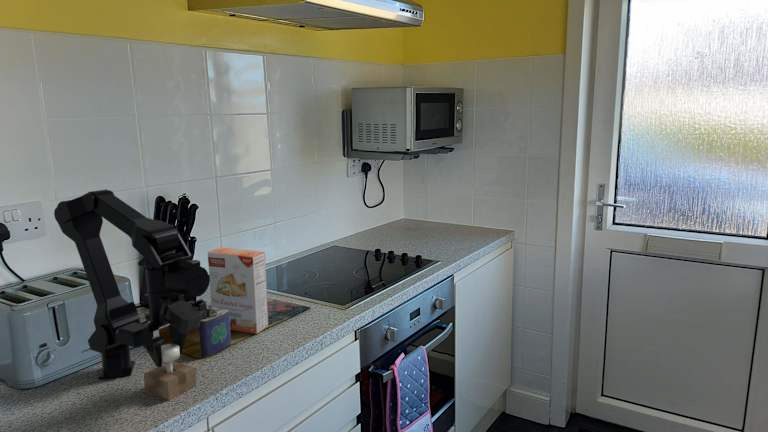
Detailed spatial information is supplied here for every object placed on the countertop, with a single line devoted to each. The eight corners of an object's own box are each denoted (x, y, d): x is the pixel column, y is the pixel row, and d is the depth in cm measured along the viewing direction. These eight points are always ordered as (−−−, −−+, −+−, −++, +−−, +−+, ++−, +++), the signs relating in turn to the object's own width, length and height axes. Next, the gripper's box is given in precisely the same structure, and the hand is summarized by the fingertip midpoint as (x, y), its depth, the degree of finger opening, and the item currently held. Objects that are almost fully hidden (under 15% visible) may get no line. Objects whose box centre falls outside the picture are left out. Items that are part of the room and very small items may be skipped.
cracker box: (211, 328, 147) (206, 251, 143) (225, 320, 152) (221, 246, 149) (256, 335, 142) (252, 256, 138) (269, 327, 147) (265, 250, 144)
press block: (145, 392, 113) (143, 374, 113) (173, 378, 119) (171, 360, 119) (169, 400, 110) (167, 381, 109) (196, 385, 116) (195, 367, 115)
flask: (225, 342, 138) (223, 301, 136) (235, 344, 137) (232, 302, 135) (197, 356, 130) (194, 313, 128) (207, 359, 129) (204, 315, 127)
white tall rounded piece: (154, 387, 114) (151, 350, 112) (172, 378, 117) (169, 342, 116) (169, 392, 112) (166, 354, 110) (186, 383, 115) (184, 346, 114)
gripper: (151, 309, 99) (158, 391, 102) (226, 281, 115) (231, 352, 118) (110, 300, 104) (118, 377, 107) (188, 274, 120) (193, 342, 123)
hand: (168, 362), depth 114 cm, fingers closed on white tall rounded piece, 4 cm apart
